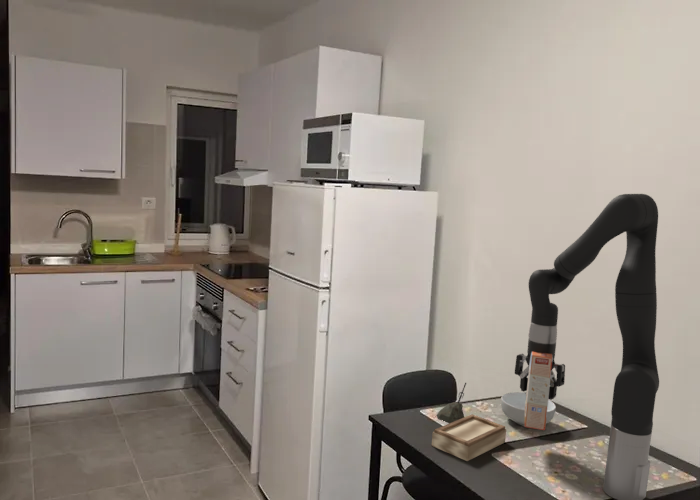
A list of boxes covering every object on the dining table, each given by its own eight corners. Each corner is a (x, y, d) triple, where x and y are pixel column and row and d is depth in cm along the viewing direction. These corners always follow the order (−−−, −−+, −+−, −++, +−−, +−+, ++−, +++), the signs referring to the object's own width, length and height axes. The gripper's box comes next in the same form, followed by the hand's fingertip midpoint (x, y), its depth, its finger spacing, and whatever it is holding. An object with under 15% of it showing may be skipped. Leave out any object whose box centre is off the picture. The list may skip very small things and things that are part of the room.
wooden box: (505, 442, 180) (506, 426, 179) (467, 461, 166) (468, 444, 165) (470, 428, 188) (471, 413, 188) (431, 445, 174) (432, 429, 173)
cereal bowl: (490, 421, 196) (492, 400, 195) (511, 408, 209) (513, 388, 208) (542, 437, 185) (545, 415, 185) (560, 422, 199) (563, 401, 198)
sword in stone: (442, 425, 190) (445, 387, 189) (433, 416, 198) (435, 379, 197) (472, 423, 193) (475, 386, 192) (461, 415, 200) (464, 379, 199)
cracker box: (546, 431, 168) (553, 357, 166) (523, 428, 169) (530, 354, 167) (545, 414, 181) (551, 345, 179) (524, 411, 183) (530, 342, 181)
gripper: (572, 342, 171) (567, 399, 172) (526, 332, 181) (521, 385, 182) (560, 346, 165) (554, 404, 167) (513, 335, 175) (508, 390, 177)
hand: (537, 394), depth 175 cm, fingers closed on cracker box, 8 cm apart
